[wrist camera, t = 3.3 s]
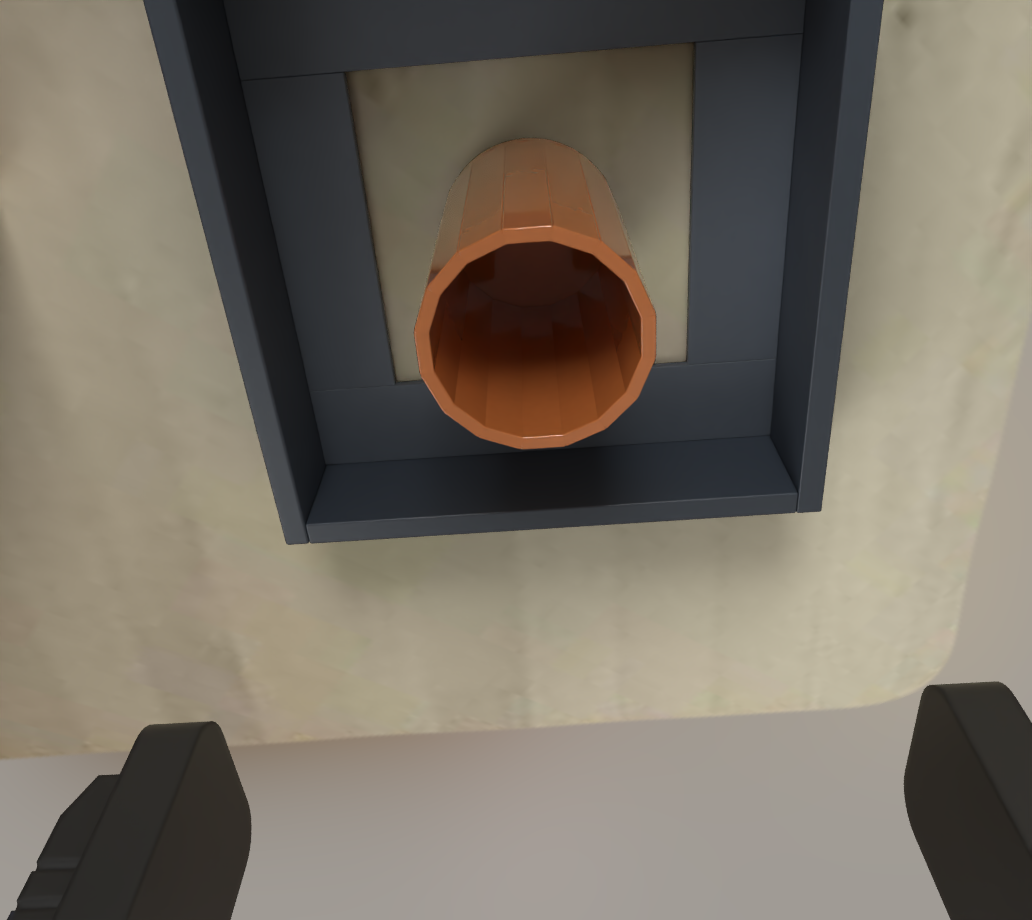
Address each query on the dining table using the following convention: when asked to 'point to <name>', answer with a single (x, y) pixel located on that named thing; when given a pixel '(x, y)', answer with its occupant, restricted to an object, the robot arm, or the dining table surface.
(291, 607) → the dining table surface
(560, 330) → the cup
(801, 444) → the dark square tray frame
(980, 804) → the robot arm
